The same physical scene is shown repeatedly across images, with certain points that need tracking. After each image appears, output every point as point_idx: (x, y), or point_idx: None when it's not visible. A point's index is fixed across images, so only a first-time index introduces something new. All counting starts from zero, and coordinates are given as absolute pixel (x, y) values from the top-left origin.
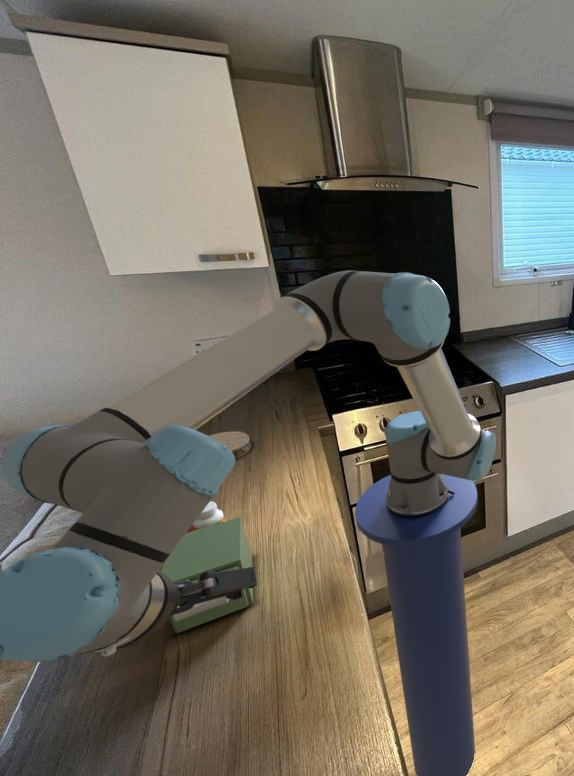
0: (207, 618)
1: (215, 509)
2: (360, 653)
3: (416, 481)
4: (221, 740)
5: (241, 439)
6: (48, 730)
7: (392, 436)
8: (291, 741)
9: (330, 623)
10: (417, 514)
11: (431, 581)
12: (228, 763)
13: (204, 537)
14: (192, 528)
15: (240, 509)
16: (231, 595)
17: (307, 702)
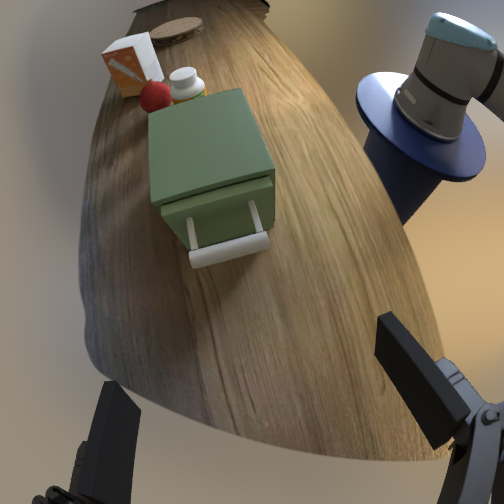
0: (222, 238)
1: (195, 76)
2: (435, 342)
3: (458, 102)
4: (297, 425)
5: (195, 21)
6: (104, 341)
7: (457, 35)
8: (375, 438)
9: (394, 285)
10: (442, 139)
11: (414, 202)
12: (312, 450)
13: (196, 115)
14: (168, 99)
15: (212, 80)
16: (445, 442)
17: (387, 398)
